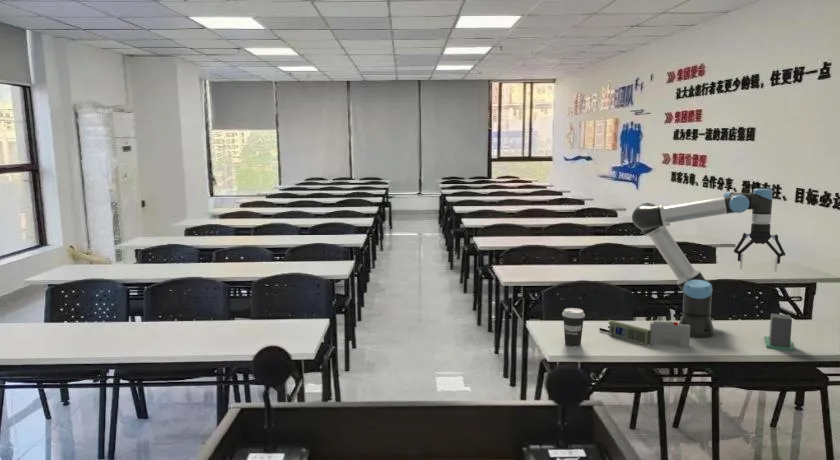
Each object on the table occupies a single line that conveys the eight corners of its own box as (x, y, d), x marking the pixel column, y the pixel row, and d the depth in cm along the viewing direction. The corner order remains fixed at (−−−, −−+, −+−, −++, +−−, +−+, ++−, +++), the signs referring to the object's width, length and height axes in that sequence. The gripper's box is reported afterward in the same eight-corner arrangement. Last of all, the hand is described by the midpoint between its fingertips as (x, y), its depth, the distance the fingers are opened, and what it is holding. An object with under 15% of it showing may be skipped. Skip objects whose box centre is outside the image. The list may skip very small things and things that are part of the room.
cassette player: (688, 345, 256) (689, 322, 255) (689, 347, 253) (690, 324, 252) (649, 342, 260) (650, 319, 259) (649, 344, 258) (650, 321, 256)
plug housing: (770, 345, 251) (772, 317, 250) (769, 340, 258) (771, 313, 256) (789, 347, 248) (791, 319, 247) (788, 342, 254) (790, 315, 253)
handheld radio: (646, 346, 256) (597, 332, 275) (651, 344, 258) (601, 331, 277) (647, 330, 255) (598, 318, 274) (652, 329, 257) (602, 317, 276)
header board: (766, 347, 251) (767, 338, 251) (764, 338, 264) (764, 329, 263) (794, 351, 247) (794, 341, 246) (790, 341, 259) (791, 332, 259)
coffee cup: (556, 342, 260) (557, 309, 258) (574, 339, 264) (575, 306, 262) (570, 349, 252) (571, 314, 250) (588, 346, 255) (589, 311, 253)
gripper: (792, 223, 266) (789, 270, 269) (729, 221, 277) (726, 265, 280) (794, 225, 259) (790, 273, 262) (729, 222, 270) (727, 268, 273)
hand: (757, 269), depth 271 cm, fingers open, 13 cm apart
